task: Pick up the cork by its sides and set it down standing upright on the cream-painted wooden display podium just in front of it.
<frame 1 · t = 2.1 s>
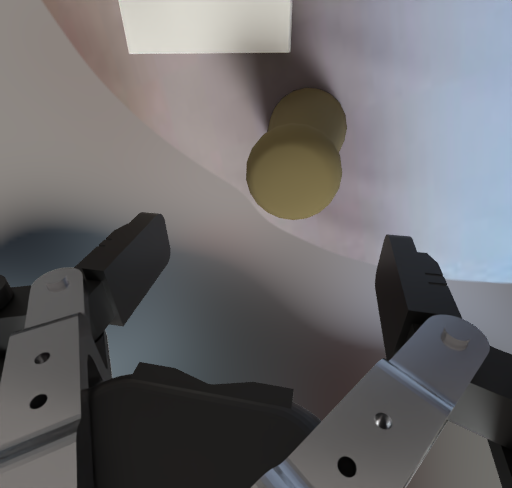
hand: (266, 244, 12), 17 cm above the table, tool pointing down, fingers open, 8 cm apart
cork: (307, 129, 25), on the table
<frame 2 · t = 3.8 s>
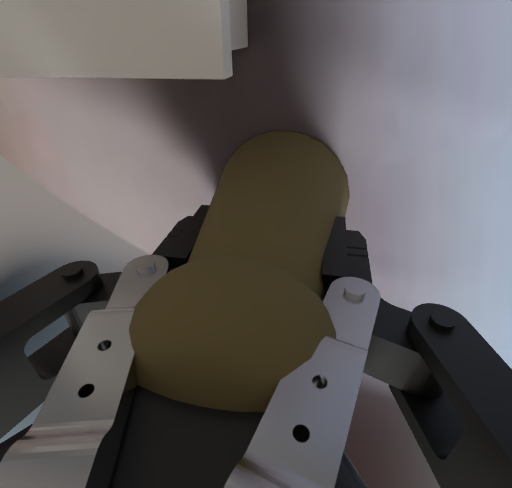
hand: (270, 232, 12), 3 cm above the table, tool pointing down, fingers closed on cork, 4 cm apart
cork: (283, 194, 15), on the table, touching gripper
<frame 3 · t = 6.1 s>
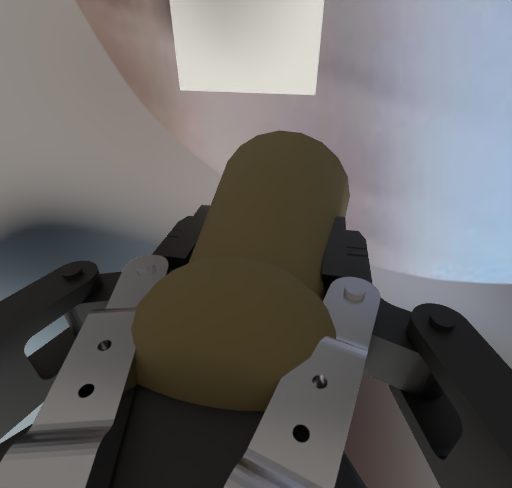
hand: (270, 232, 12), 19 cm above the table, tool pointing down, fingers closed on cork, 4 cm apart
podium: (258, 10, 25), on the table
cork: (283, 194, 15), point 16 cm above the table, touching gripper
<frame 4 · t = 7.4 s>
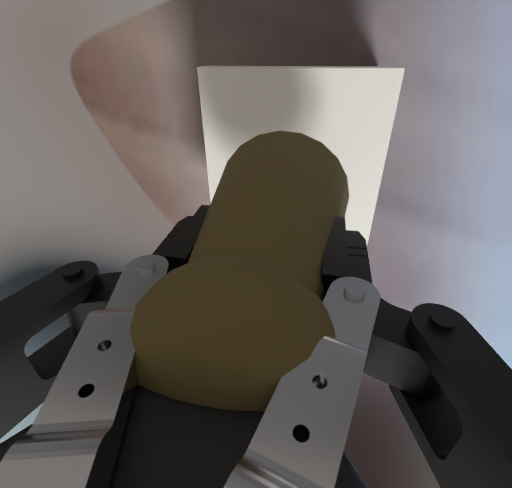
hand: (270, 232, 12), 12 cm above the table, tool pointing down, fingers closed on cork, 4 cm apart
podium: (298, 142, 22), on the table
cork: (283, 194, 15), point 9 cm above the table, touching gripper
when the fingers open (10 cm above the table, at t = 8.3 s): cork drops 1 cm, resting on podium.
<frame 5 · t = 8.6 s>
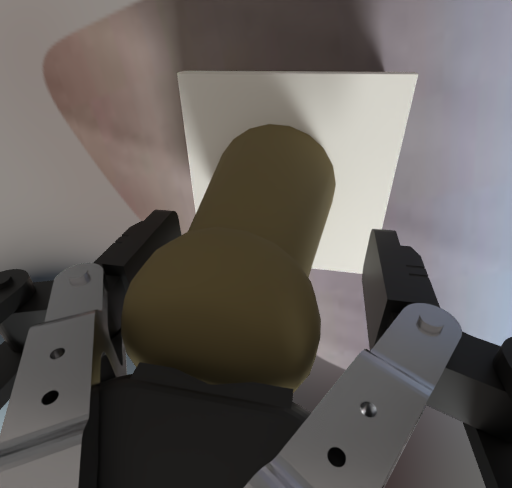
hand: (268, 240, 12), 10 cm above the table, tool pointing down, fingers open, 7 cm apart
podium: (295, 153, 20), on the table
cork: (274, 184, 16), point 5 cm above the table, touching podium
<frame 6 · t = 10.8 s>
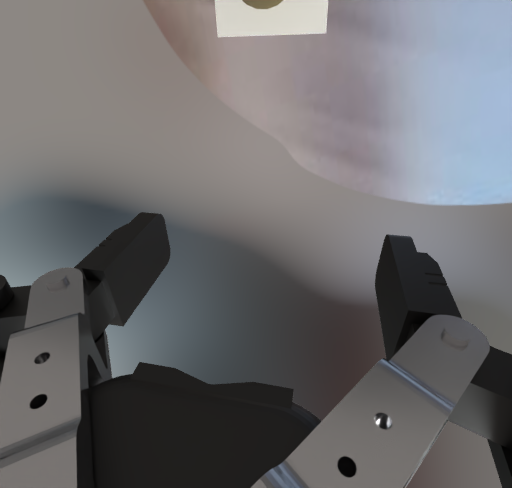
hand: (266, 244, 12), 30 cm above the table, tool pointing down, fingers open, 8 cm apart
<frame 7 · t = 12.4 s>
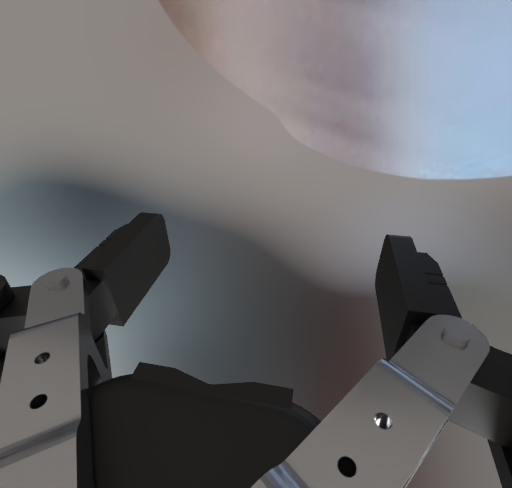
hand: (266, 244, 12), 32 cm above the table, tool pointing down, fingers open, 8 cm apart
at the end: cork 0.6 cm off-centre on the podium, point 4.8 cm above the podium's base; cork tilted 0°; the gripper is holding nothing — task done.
